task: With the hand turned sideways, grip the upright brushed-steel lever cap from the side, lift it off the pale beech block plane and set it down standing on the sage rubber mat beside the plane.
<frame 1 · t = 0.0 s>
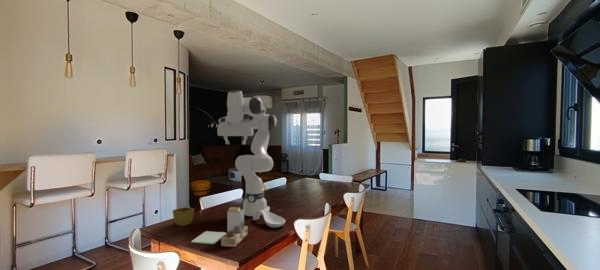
hand: (235, 144, 153), 48 cm above the table, tool pointing down, fingers open, 8 cm apart
cap mat: (209, 237, 142), on the table
lever cap: (235, 229, 141), point 5 cm above the table, touching block plane
flower pot: (183, 224, 162), on the table
block plane: (235, 239, 140), on the table
spoon rest: (268, 224, 164), on the table
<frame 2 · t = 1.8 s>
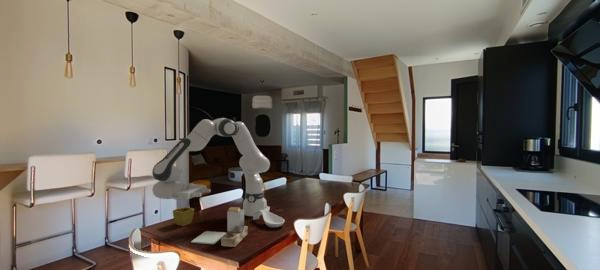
hand: (205, 192, 146), 22 cm above the table, tool horizontal, fingers open, 8 cm apart
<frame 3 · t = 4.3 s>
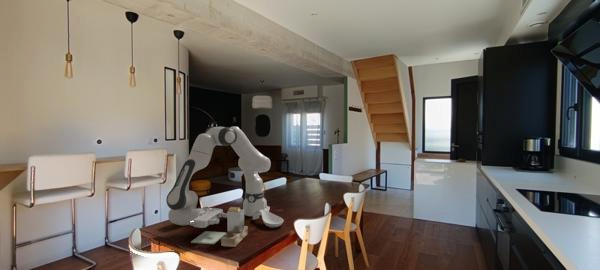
hand: (223, 218, 142), 10 cm above the table, tool horizontal, fingers open, 8 cm apart
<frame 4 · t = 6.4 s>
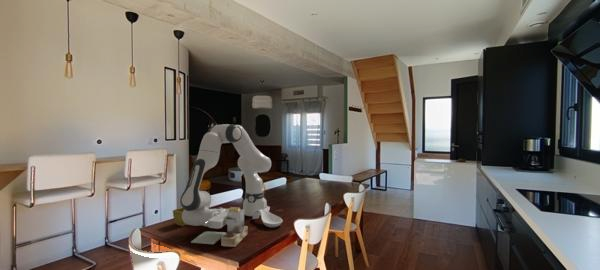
hand: (237, 219, 141), 10 cm above the table, tool horizontal, fingers closed on lever cap, 5 cm apart
lever cap: (235, 229, 141), point 5 cm above the table, touching block plane, gripper
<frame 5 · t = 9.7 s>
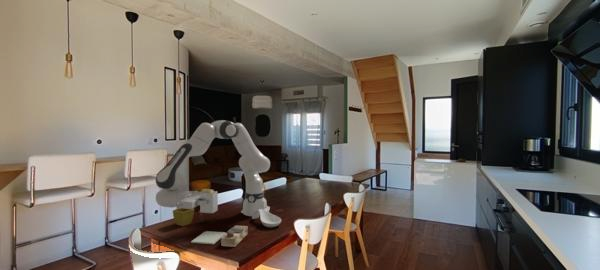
hand: (210, 200, 142), 19 cm above the table, tool horizontal, fingers closed on lever cap, 5 cm apart
lever cap: (209, 211, 142), point 14 cm above the table, touching gripper
when the fingers open (8 cm above the table, at t = 12.6 s): lever cap drops 1 cm, resting on cap mat.
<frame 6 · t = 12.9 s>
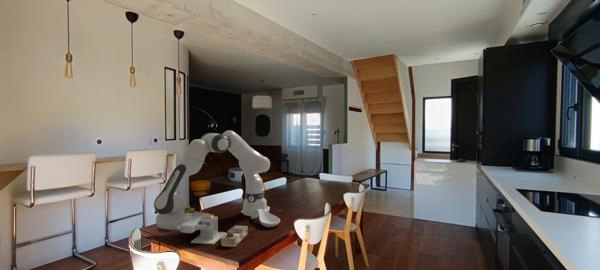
hand: (210, 223, 142), 8 cm above the table, tool horizontal, fingers open, 8 cm apart
lever cap: (209, 236, 142), point 1 cm above the table, touching cap mat
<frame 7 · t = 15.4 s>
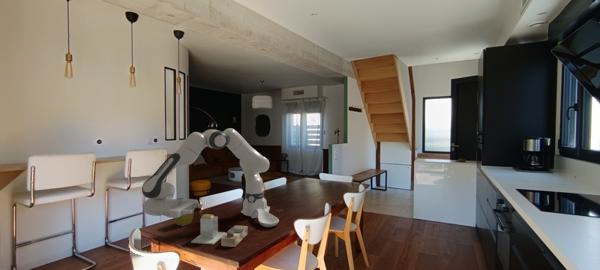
hand: (197, 208, 144), 15 cm above the table, tool horizontal, fingers open, 8 cm apart
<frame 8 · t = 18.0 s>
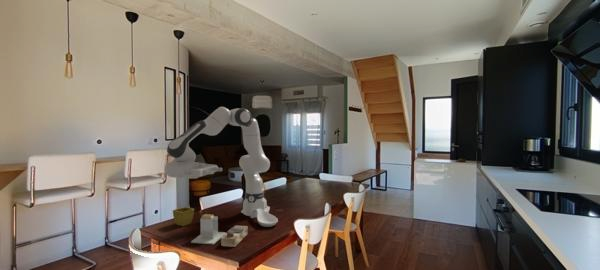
hand: (217, 170, 147), 34 cm above the table, tool horizontal, fingers open, 8 cm apart
at the end: lever cap inside the target area (0.0 cm from its centre), point 0.6 cm above the table; lever cap tilted 0°; lever cap touching cap mat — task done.
